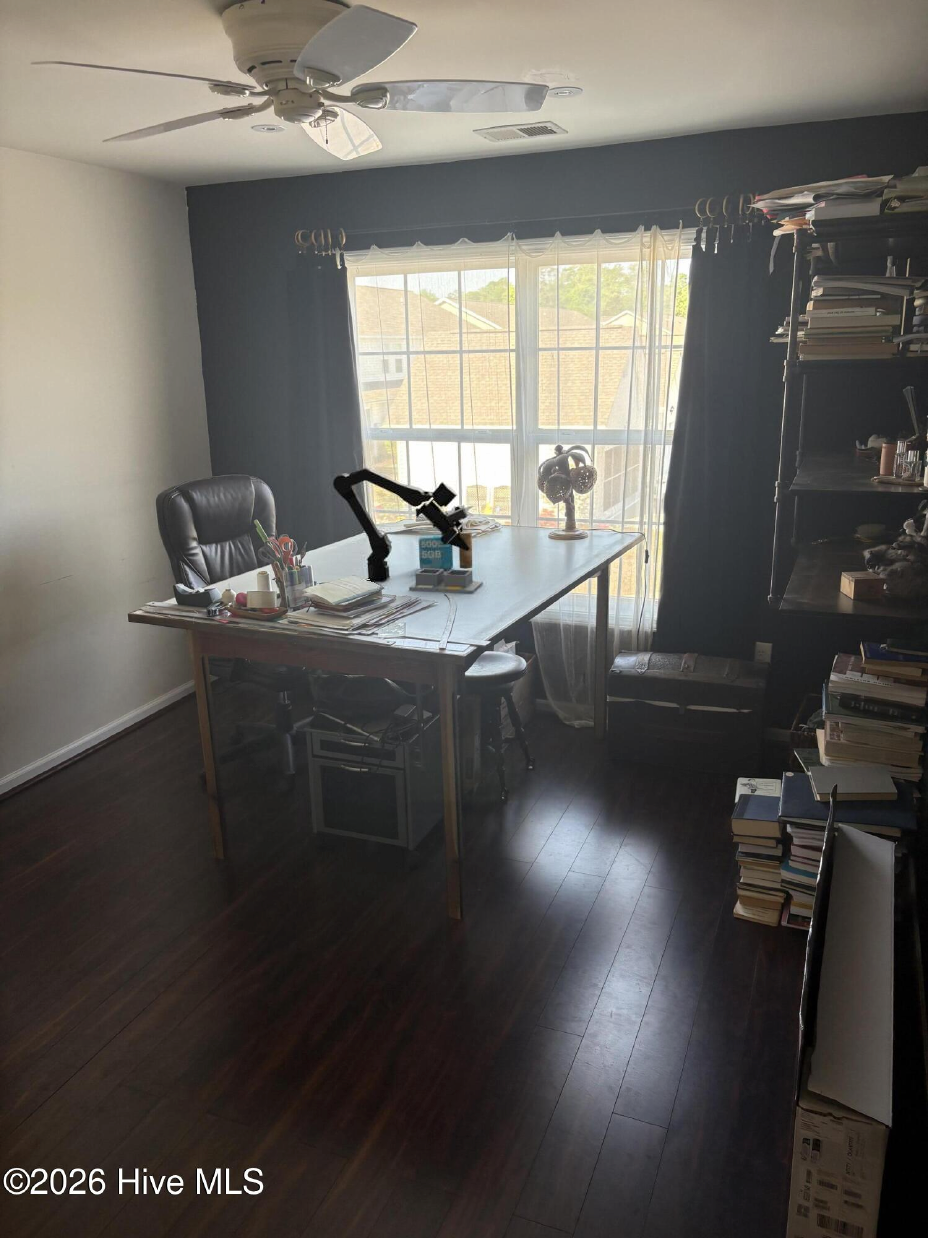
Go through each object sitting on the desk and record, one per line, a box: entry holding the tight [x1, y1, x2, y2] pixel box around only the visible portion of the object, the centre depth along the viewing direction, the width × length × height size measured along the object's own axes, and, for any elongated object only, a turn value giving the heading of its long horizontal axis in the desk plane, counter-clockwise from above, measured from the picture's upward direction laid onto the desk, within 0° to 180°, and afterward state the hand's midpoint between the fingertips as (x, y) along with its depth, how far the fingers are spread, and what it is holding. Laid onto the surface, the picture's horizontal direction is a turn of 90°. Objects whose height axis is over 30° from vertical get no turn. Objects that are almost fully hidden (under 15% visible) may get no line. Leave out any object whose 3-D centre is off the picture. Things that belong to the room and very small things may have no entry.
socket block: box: [408, 568, 484, 595], centre depth 298 cm, size 22×12×5 cm, turn 73°
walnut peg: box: [458, 531, 473, 570], centre depth 307 cm, size 4×4×12 cm
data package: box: [418, 534, 454, 570], centre depth 324 cm, size 12×4×12 cm, turn 94°
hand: (469, 548), depth 307 cm, fingers closed on walnut peg, 4 cm apart
